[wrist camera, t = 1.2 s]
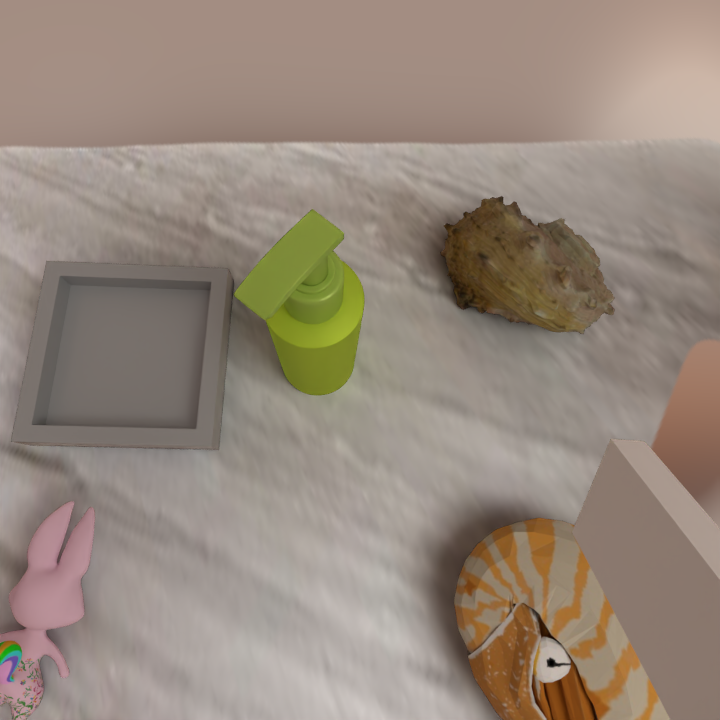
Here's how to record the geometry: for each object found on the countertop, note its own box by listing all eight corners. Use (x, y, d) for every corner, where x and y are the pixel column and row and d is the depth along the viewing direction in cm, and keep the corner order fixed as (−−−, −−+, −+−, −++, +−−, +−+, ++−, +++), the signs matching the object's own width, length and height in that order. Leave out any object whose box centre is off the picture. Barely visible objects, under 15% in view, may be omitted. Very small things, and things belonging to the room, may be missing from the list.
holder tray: (234, 281, 43) (228, 268, 41) (218, 449, 40) (211, 446, 37) (63, 275, 43) (46, 260, 40) (31, 445, 39) (10, 441, 36)
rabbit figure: (63, 727, 36) (135, 512, 37) (4, 789, 30) (94, 530, 31) (-23, 700, 36) (53, 487, 37) (-98, 756, 30) (-4, 500, 31)
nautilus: (629, 872, 34) (407, 816, 35) (657, 541, 39) (460, 498, 40) (705, 988, 27) (420, 913, 27) (729, 557, 31) (483, 504, 32)
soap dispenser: (258, 374, 41) (196, 262, 22) (314, 312, 43) (301, 158, 24) (313, 420, 41) (299, 346, 21) (368, 355, 42) (401, 233, 23)
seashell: (566, 371, 44) (647, 337, 35) (410, 308, 44) (450, 255, 34) (592, 263, 48) (673, 204, 38) (448, 202, 47) (494, 126, 37)
